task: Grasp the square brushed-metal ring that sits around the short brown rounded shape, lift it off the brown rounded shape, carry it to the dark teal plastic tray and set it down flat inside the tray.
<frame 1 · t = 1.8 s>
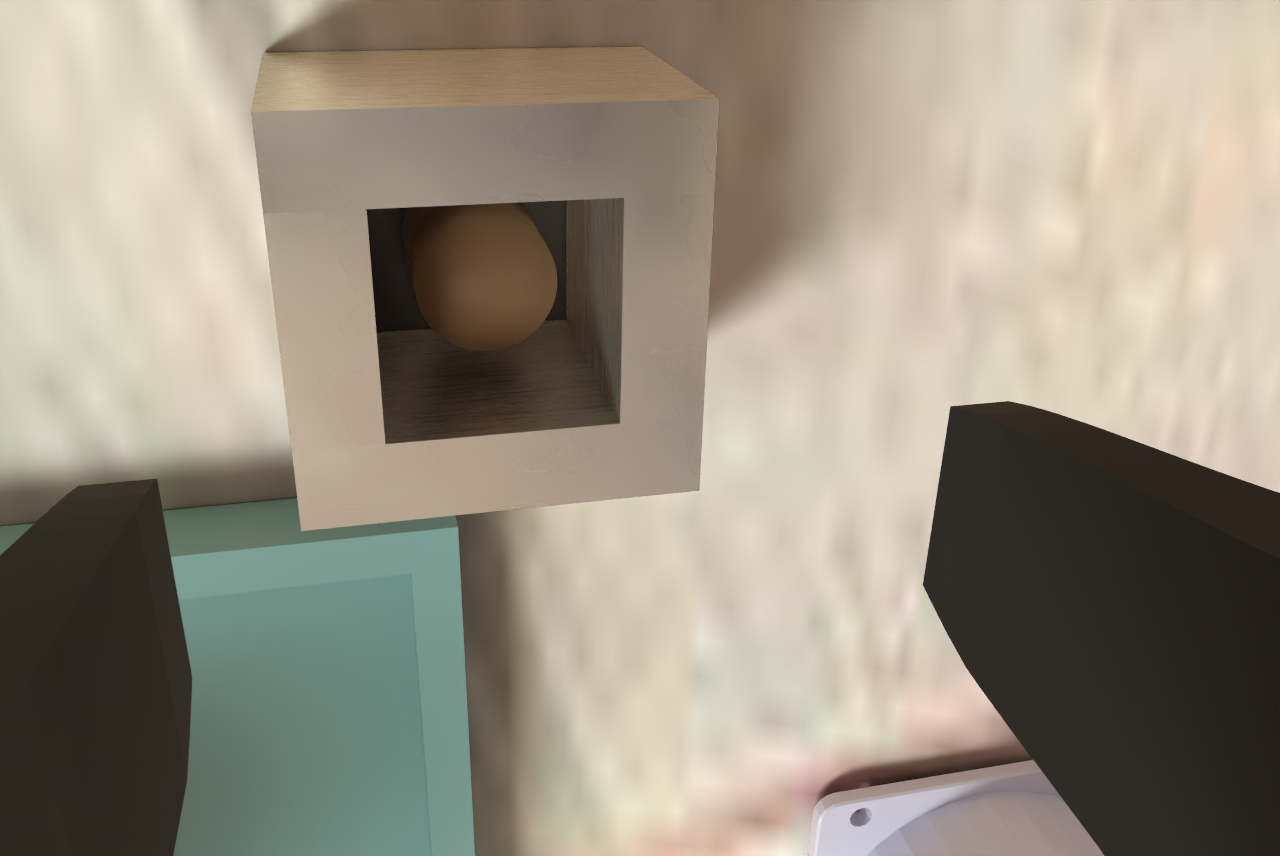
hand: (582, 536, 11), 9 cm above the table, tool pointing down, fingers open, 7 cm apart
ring: (466, 232, 19), on the table
tray: (163, 772, 22), on the table
brown rounded shape: (466, 232, 19), on the table
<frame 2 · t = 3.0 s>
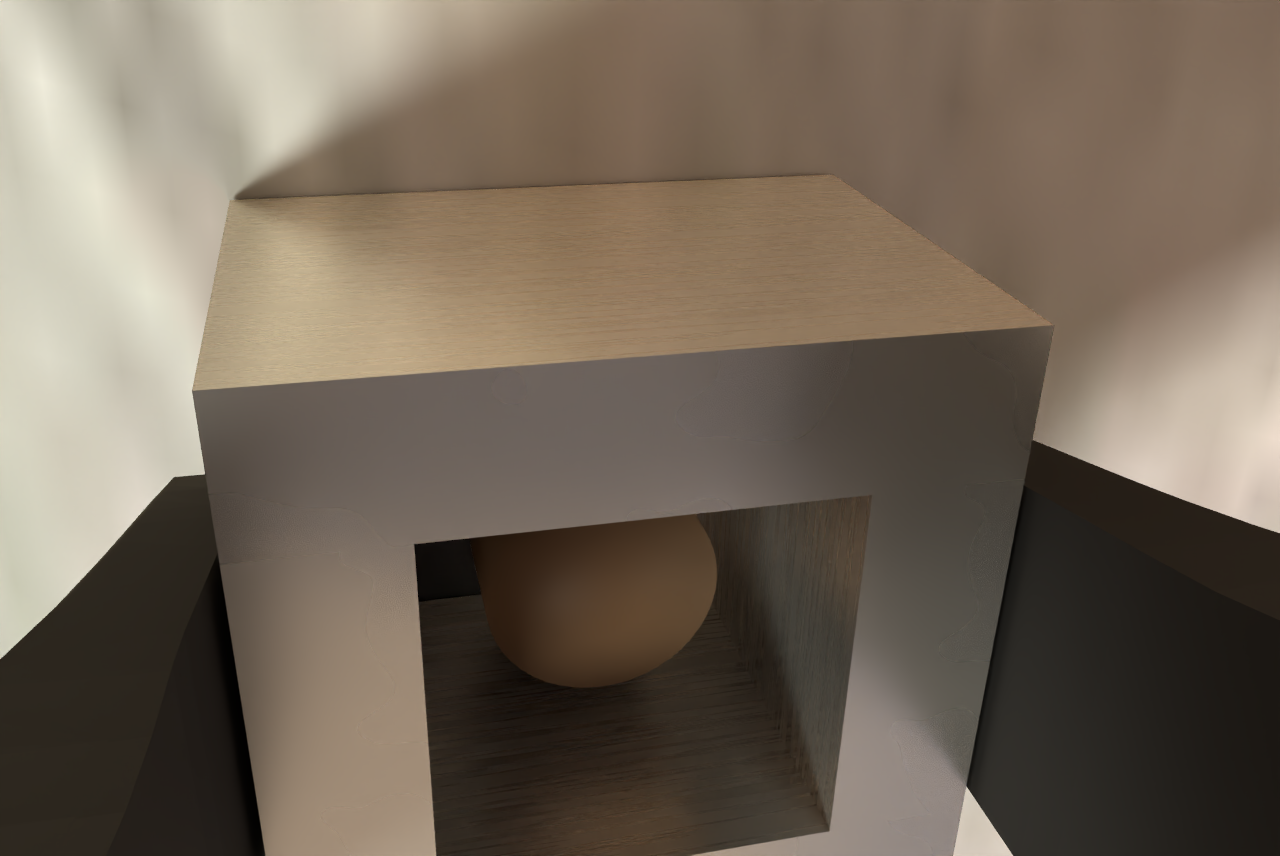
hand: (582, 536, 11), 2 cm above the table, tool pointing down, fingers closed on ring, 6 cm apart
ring: (551, 455, 12), on the table, touching gripper
brown rounded shape: (551, 455, 12), on the table
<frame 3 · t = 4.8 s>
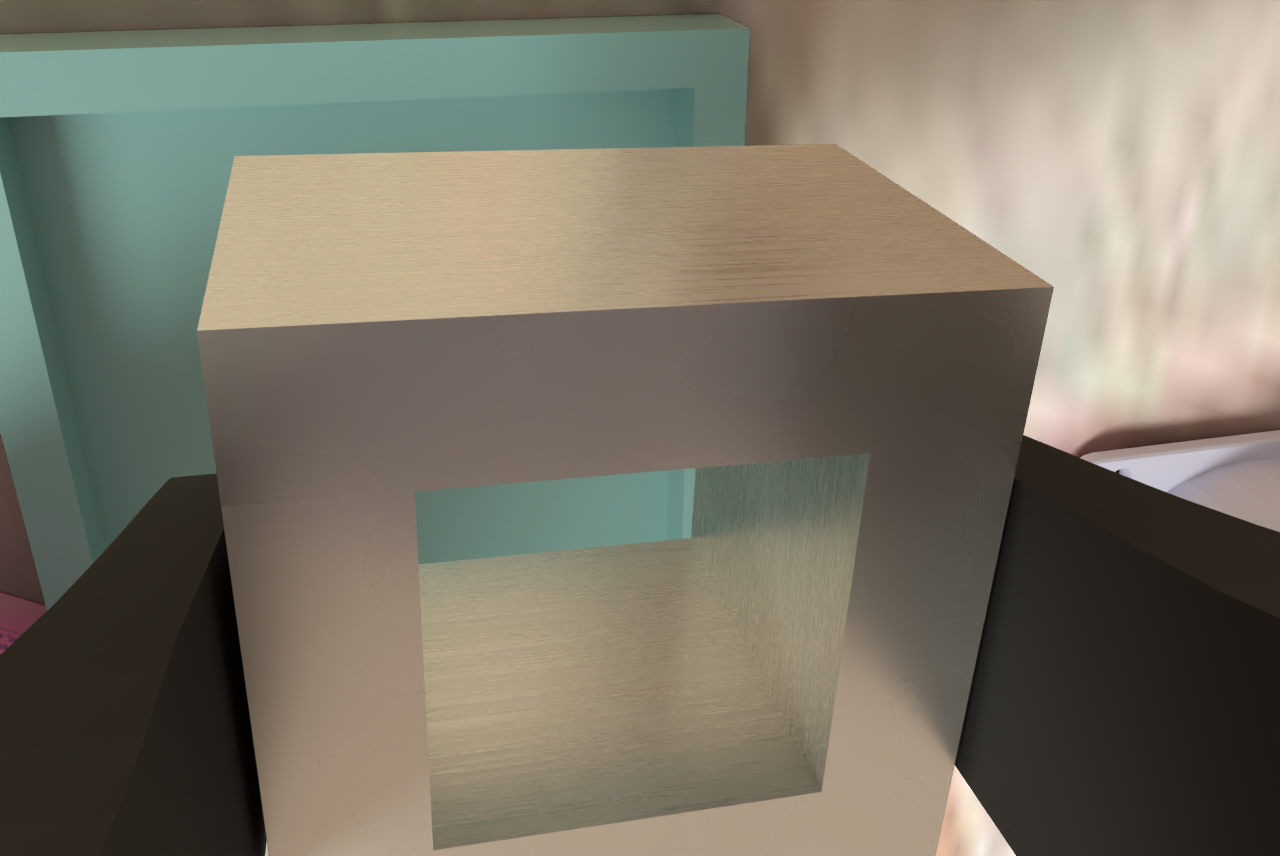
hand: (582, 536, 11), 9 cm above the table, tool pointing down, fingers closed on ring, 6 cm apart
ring: (550, 420, 12), point 8 cm above the table, touching gripper
tray: (387, 372, 20), on the table
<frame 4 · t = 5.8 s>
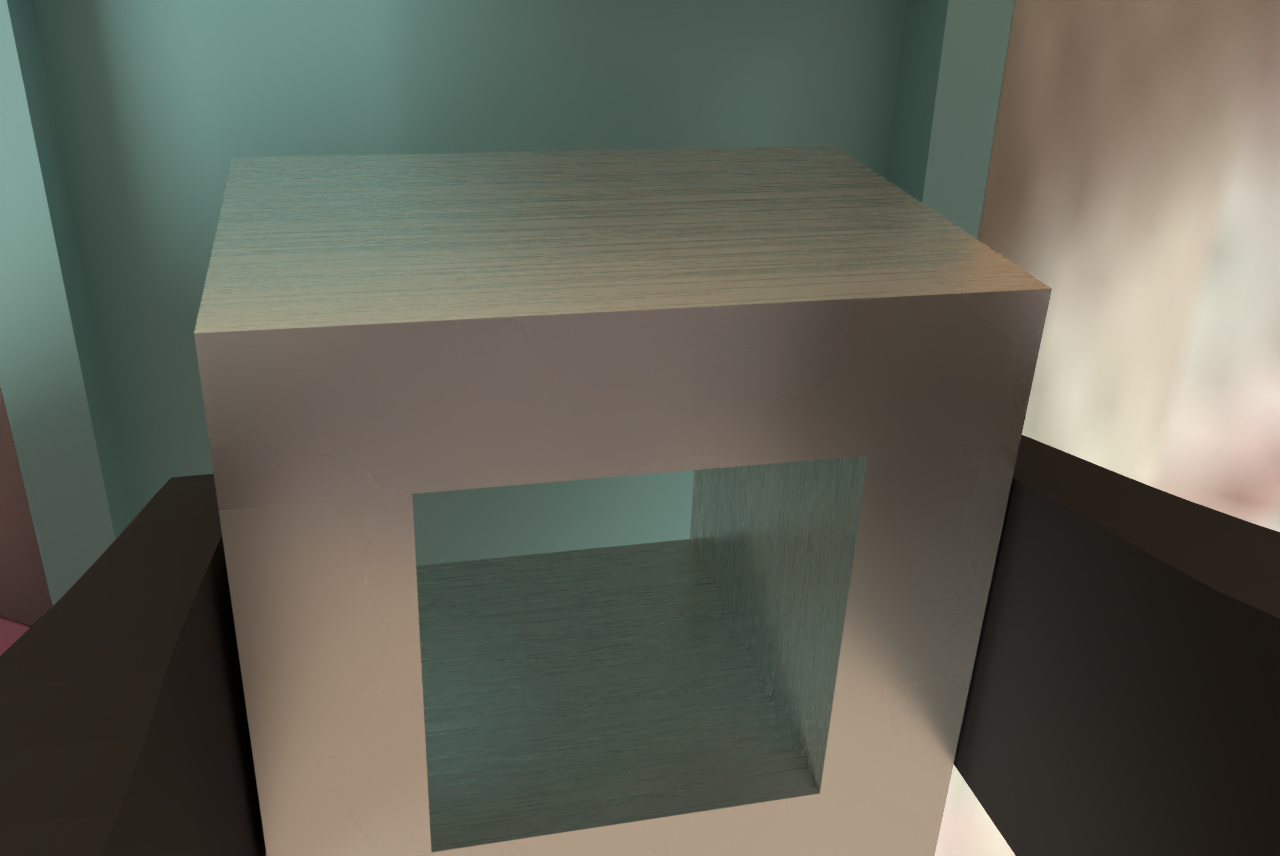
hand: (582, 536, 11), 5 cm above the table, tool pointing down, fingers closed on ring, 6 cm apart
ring: (549, 421, 12), point 3 cm above the table, touching gripper
tray: (508, 335, 15), on the table
when the fingers open (3 cm above the table, at t = 6.7 s): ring drops 1 cm, resting on tray.
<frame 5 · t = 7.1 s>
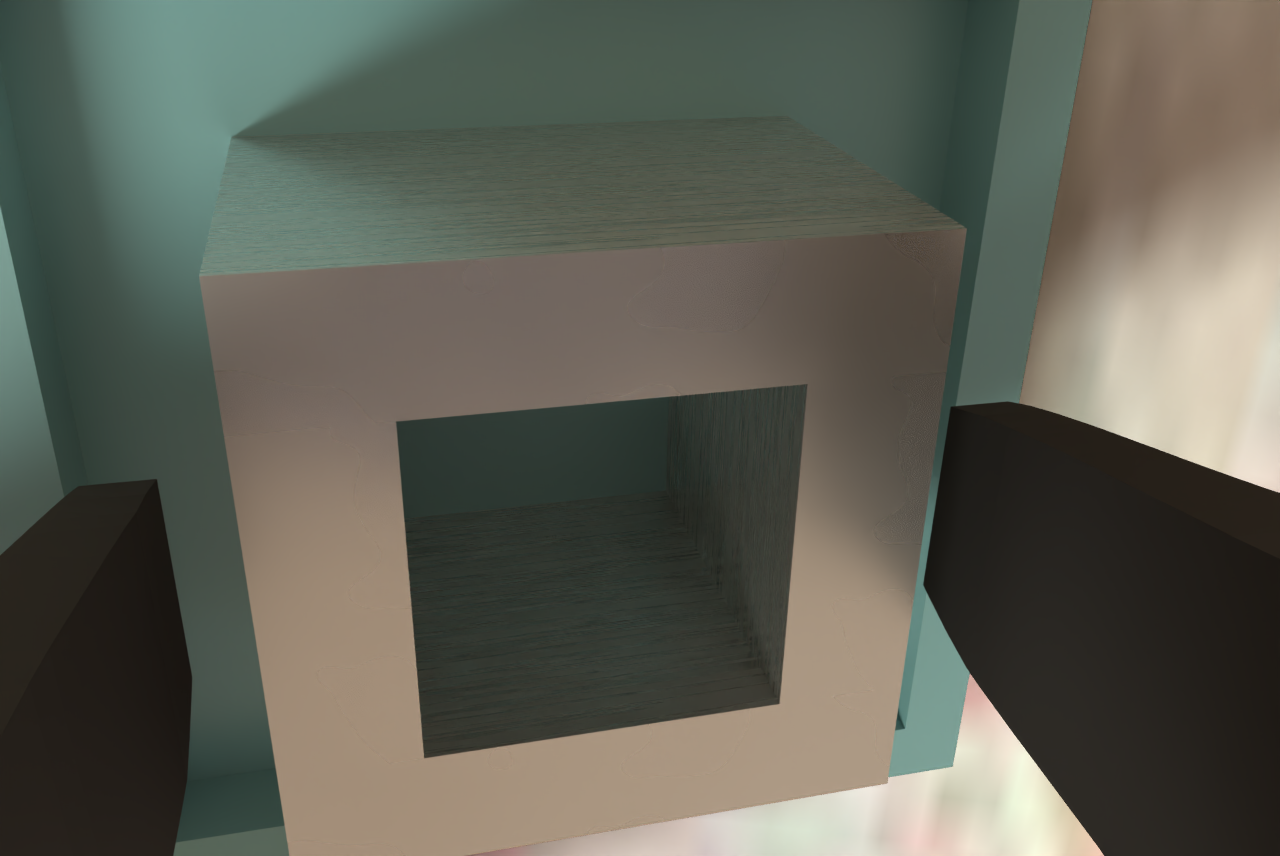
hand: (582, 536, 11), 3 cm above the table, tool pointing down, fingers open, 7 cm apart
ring: (530, 380, 13), resting on tray
tray: (524, 383, 14), on the table
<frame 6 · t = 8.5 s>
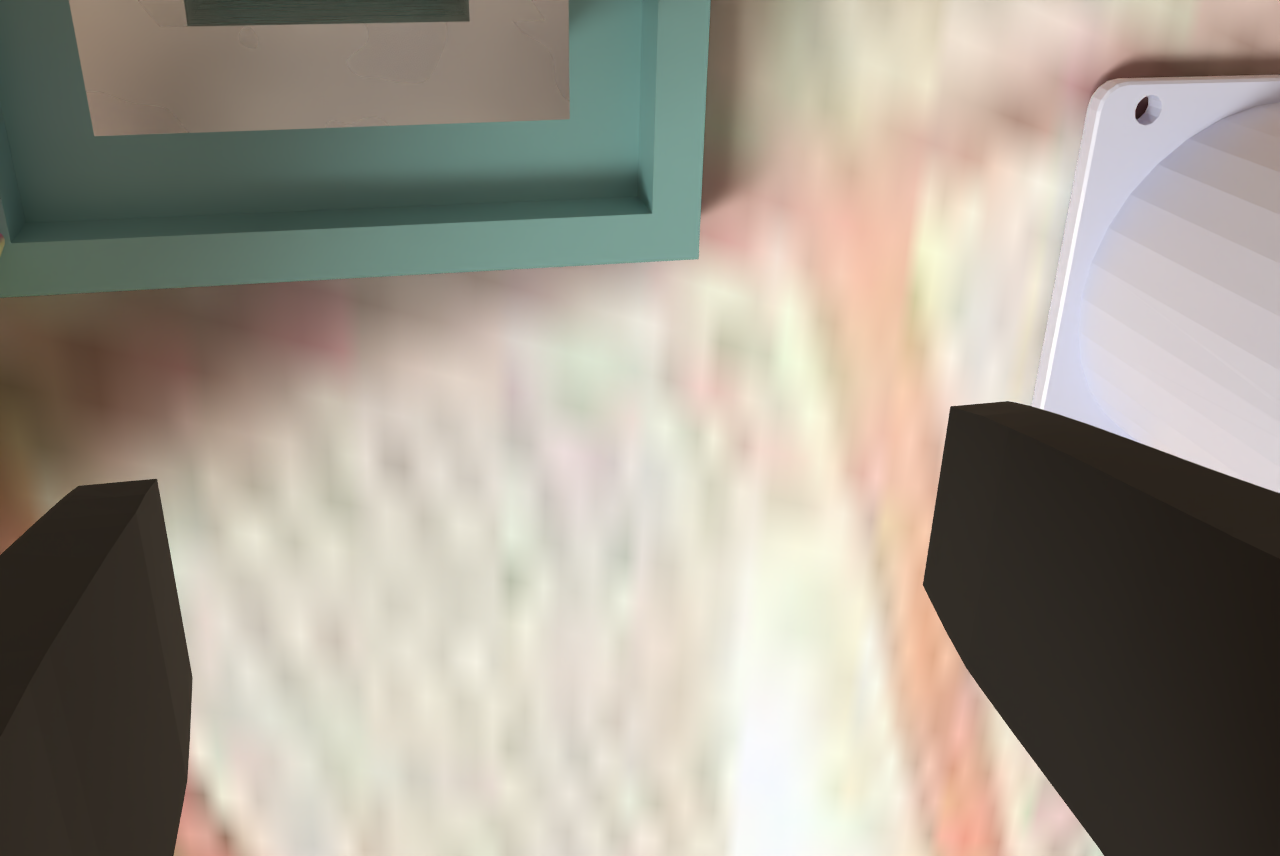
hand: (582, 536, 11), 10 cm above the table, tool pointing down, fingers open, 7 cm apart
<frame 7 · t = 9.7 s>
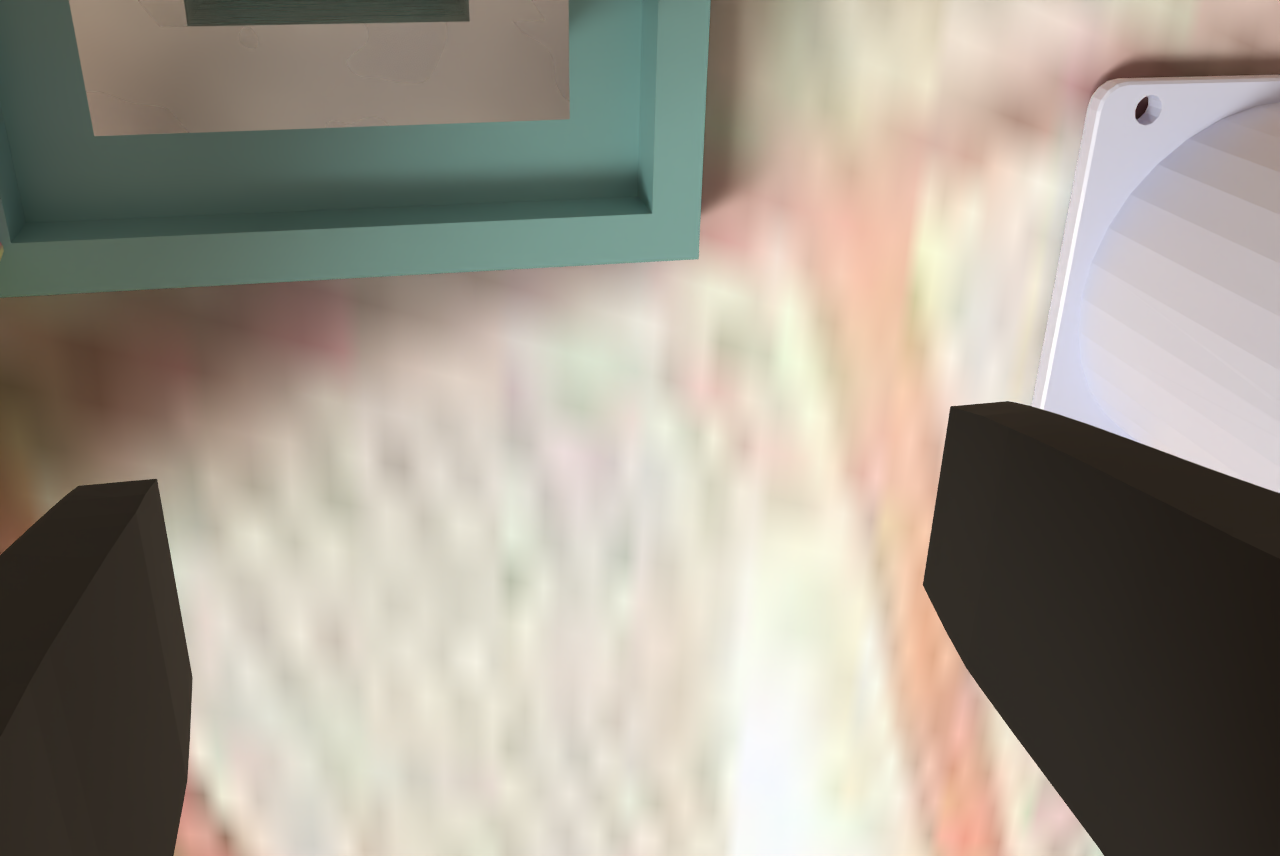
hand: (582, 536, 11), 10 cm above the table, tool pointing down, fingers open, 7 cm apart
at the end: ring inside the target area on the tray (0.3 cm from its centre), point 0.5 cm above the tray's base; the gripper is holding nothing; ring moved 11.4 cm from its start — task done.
